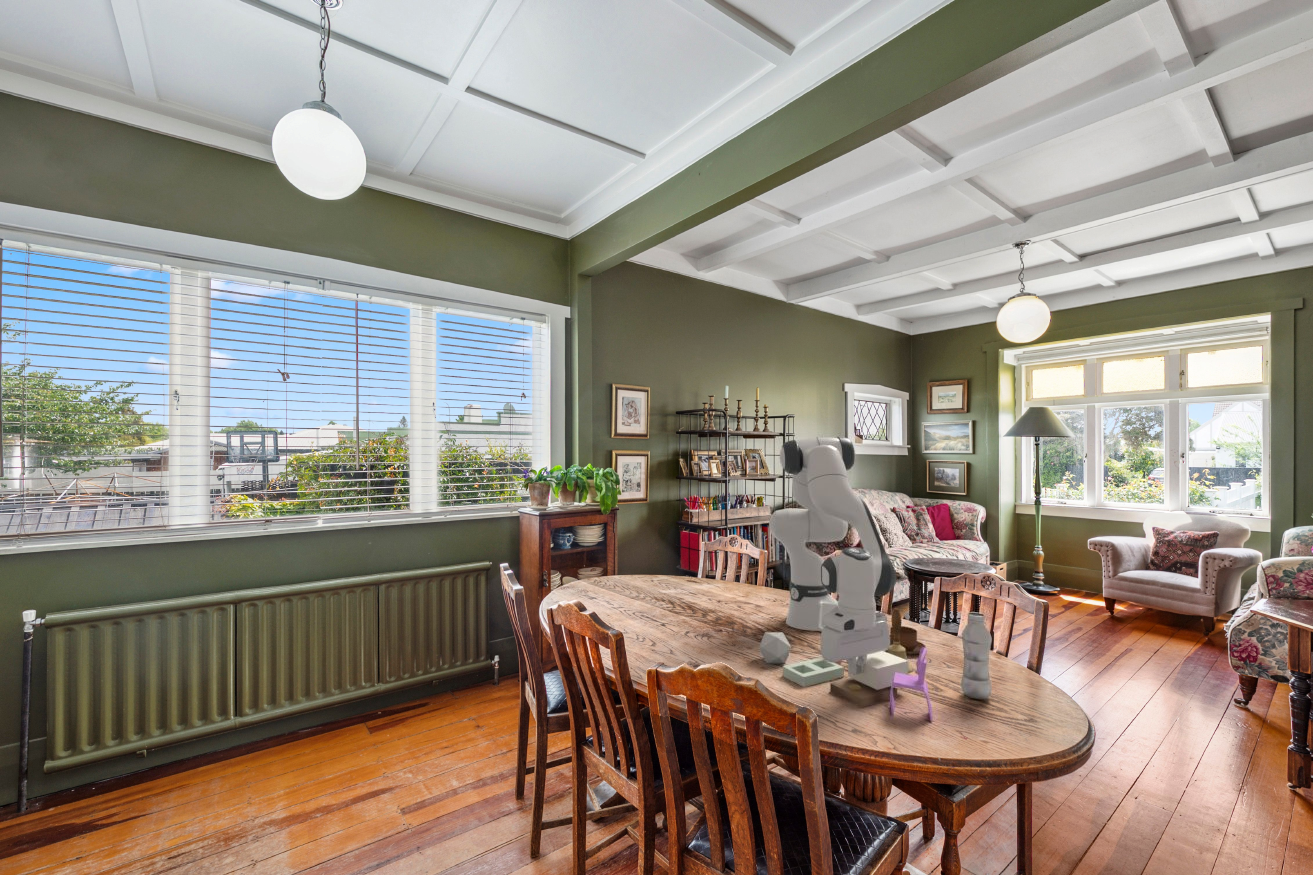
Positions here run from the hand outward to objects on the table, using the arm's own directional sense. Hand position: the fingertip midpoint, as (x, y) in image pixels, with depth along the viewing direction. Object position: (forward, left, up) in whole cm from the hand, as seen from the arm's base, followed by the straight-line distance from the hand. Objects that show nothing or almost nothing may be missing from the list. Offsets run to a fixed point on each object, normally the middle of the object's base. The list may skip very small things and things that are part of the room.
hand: (856, 673), depth 142 cm
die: (+3, -27, -6) cm, 27 cm away
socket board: (+1, -14, -5) cm, 15 cm away
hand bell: (-24, -8, -6) cm, 26 cm away
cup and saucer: (-37, -16, -6) cm, 41 cm away
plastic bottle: (-25, +14, -6) cm, 30 cm away
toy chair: (-4, +12, -6) cm, 14 cm away
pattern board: (-2, 0, -5) cm, 6 cm away
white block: (-7, 0, -3) cm, 8 cm away
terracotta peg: (-10, -17, -5) cm, 20 cm away
